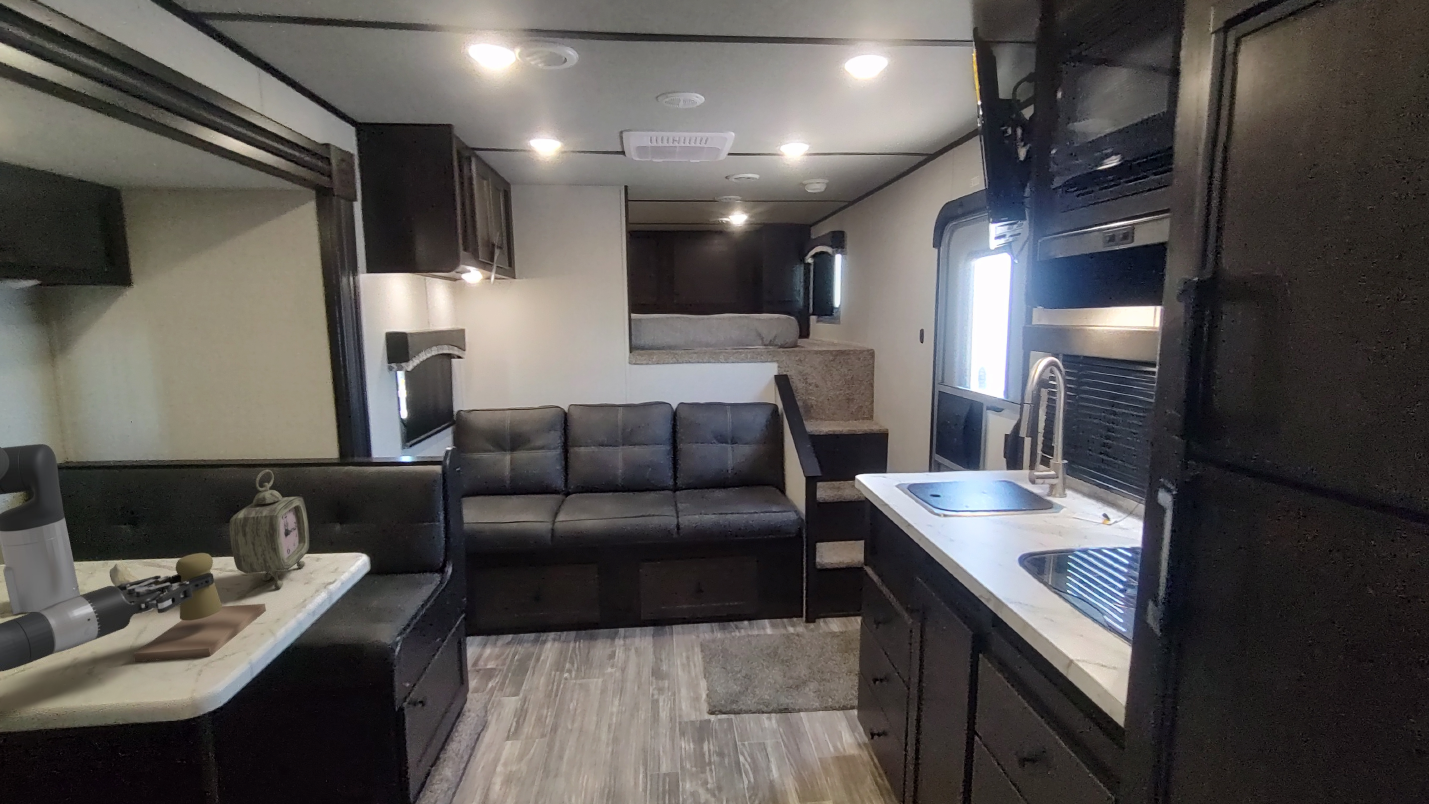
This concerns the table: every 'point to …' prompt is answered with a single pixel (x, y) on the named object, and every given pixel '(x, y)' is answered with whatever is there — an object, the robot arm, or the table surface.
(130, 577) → the chocolate bunny
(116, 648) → the table surface
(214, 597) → the cork
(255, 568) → the tabletop clock
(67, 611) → the robot arm
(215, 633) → the walnut board
